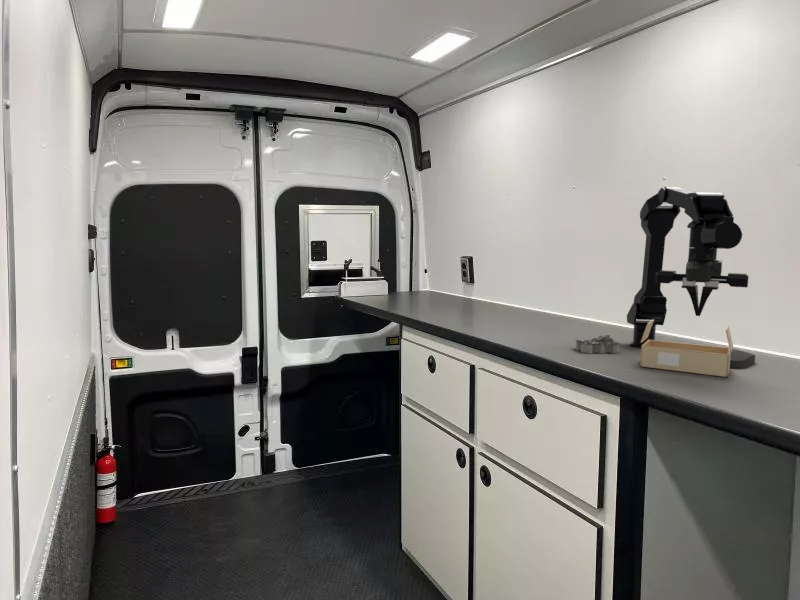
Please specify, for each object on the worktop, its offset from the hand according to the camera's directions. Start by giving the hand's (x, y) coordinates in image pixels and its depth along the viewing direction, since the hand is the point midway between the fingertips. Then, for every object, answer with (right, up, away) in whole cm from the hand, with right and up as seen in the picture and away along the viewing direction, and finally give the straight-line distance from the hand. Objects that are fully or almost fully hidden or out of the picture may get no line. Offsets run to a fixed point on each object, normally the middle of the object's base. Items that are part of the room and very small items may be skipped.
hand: (697, 315), depth 132 cm
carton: (-2, -12, +2) cm, 13 cm away
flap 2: (+6, -8, -3) cm, 10 cm away
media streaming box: (+11, -12, +11) cm, 20 cm away
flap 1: (-10, -6, +7) cm, 13 cm away
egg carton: (-16, -11, +22) cm, 29 cm away
